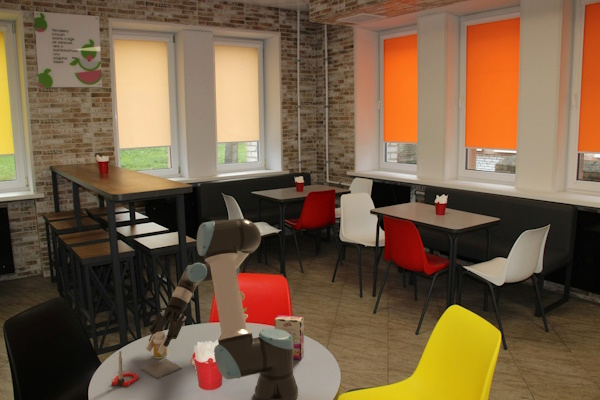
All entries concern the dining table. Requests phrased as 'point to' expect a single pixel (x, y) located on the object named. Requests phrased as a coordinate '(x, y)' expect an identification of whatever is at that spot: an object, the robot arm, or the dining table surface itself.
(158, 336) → the supplement bottle
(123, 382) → the tow hook
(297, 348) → the candy bar box
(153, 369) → the coaster
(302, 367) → the dining table surface
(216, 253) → the robot arm
